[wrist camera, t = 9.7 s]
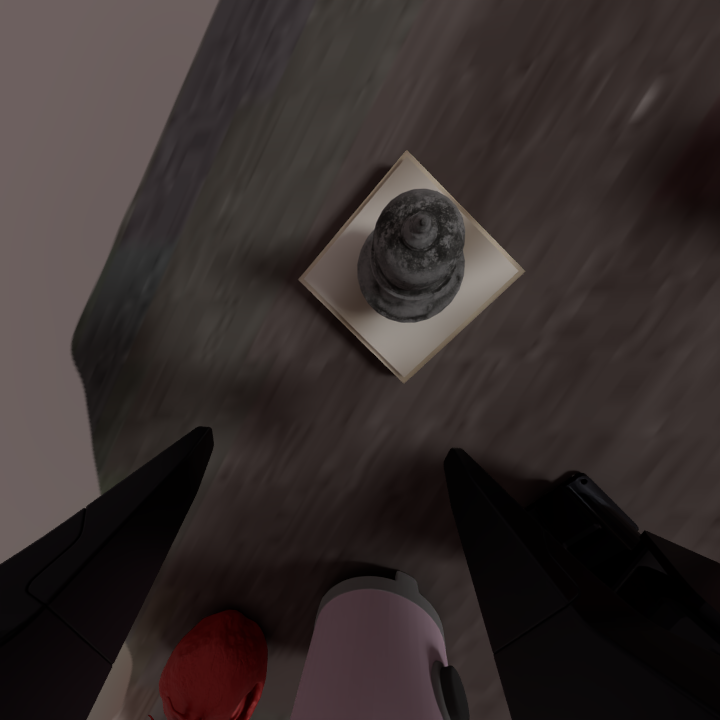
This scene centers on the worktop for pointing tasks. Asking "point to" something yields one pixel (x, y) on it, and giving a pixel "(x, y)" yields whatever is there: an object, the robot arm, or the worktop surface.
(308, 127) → the worktop surface
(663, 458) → the worktop surface
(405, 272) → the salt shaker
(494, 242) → the wooden tray
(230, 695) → the red tomato
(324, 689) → the blender
